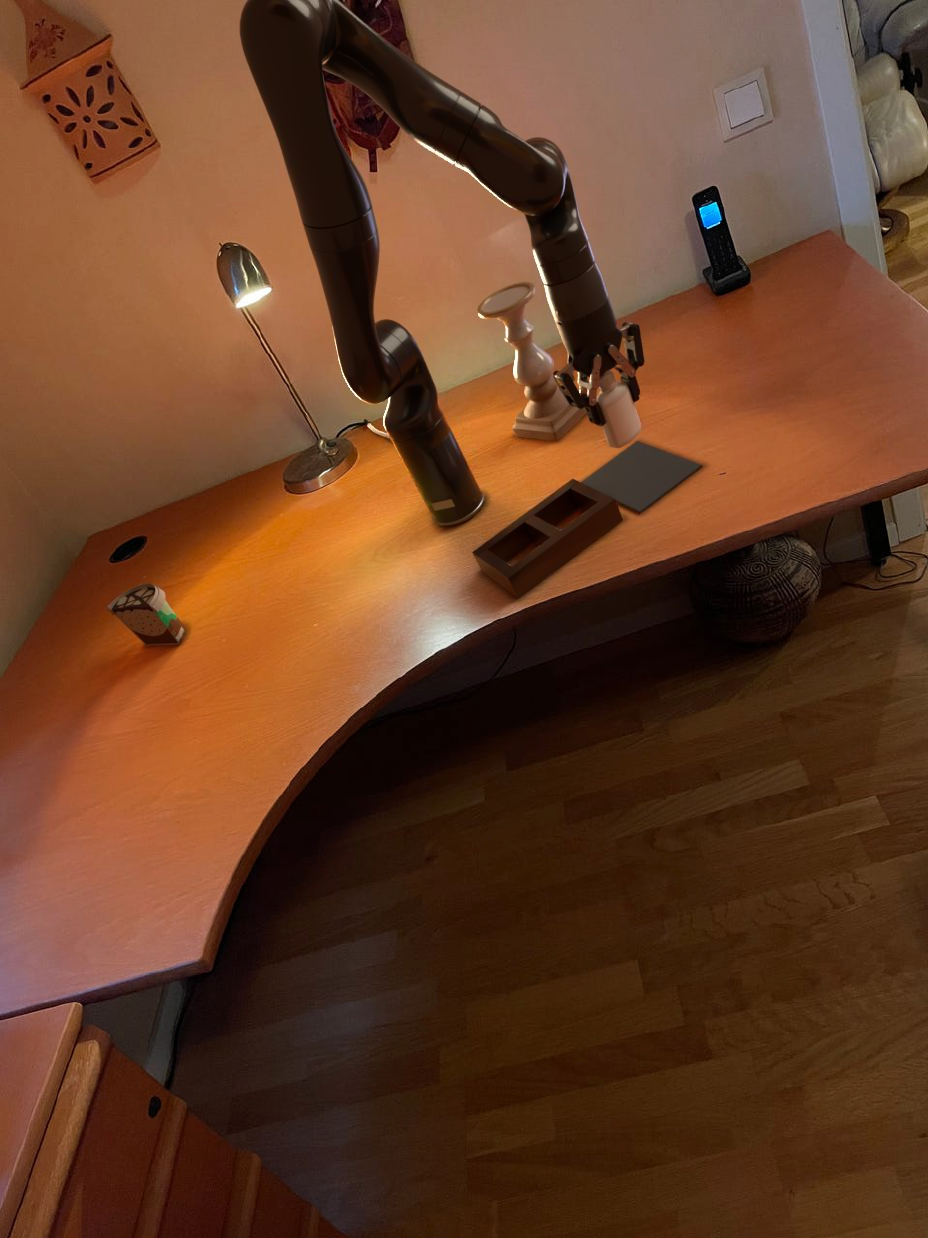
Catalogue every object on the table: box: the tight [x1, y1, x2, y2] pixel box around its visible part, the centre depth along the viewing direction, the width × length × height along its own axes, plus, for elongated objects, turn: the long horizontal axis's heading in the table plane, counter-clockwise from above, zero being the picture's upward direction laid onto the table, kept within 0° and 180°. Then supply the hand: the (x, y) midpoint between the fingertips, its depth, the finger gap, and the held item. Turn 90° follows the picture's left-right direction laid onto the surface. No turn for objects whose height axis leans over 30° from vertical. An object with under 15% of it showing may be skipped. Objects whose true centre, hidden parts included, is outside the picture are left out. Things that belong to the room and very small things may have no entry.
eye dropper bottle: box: [596, 369, 643, 449], centre depth 118 cm, size 4×6×12 cm
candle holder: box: [476, 281, 587, 442], centre depth 143 cm, size 11×11×24 cm
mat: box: [580, 440, 703, 514], centre depth 126 cm, size 15×12×1 cm
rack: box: [471, 478, 624, 600], centre depth 121 cm, size 11×19×4 cm, turn 118°
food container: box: [107, 582, 187, 646], centre depth 148 cm, size 12×6×10 cm, turn 65°
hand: (616, 411), depth 119 cm, fingers closed on eye dropper bottle, 5 cm apart
